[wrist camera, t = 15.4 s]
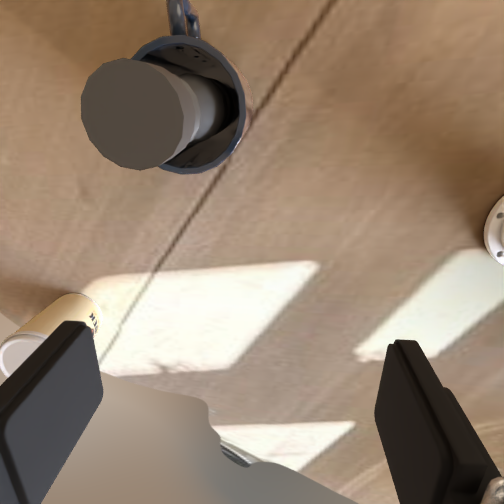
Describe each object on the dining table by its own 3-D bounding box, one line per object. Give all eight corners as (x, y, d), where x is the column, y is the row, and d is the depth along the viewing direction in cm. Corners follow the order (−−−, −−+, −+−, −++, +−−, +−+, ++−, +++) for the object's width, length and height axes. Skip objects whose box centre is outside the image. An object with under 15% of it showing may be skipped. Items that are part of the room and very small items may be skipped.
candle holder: (224, 142, 44) (171, 190, 21) (176, 122, 43) (67, 150, 20) (241, 90, 41) (203, 80, 18) (191, 69, 41) (86, 31, 18)
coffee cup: (105, 344, 58) (66, 401, 47) (48, 330, 58) (-5, 384, 47) (111, 296, 54) (70, 347, 43) (50, 281, 54) (-7, 328, 43)
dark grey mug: (256, 151, 45) (250, 170, 33) (169, 156, 45) (132, 177, 34) (247, 9, 39) (236, -31, 27) (147, 18, 39) (93, -17, 28)
